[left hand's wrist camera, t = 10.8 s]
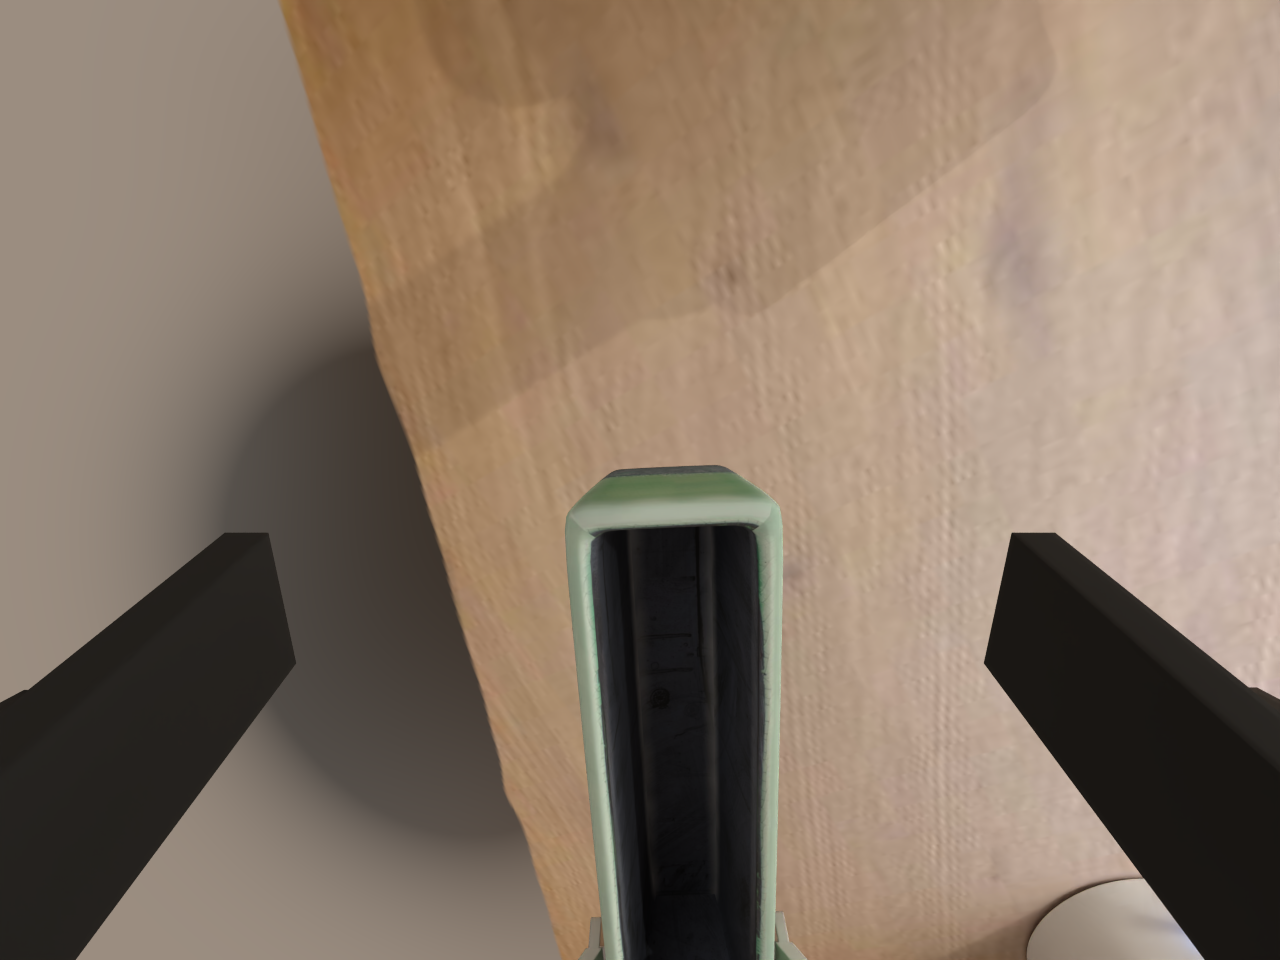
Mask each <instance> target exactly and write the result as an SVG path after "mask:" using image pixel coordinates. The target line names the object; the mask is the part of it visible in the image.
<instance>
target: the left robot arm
mask: <svg viewBox="0 0 1280 960" xmlns="http://www.w3.org/2000/svg"><path fill="white" fill-rule="evenodd" d="M295 664H296V660H295V656H294V651H293V646H292V642H291V637H290V632H289V628H288V623H287V618H286V614H285V609H284V604H283V600H282V595H281V590H280V586H279V581H278V576H277V571H276V567H275V562H274V557H273V553H272V548H271V543H270V539H269V534H268V533H224V534H223V535H222V536H220V537H219V538H218V539H217V540H215V541H214V542H213V543H212V544H210V545H209V546H208V547H207V548H205V549H204V550H203V551H202V552H200V553H199V554H198V555H197V556H195V557H194V558H193V559H192V560H190V561H189V562H188V563H187V564H185V565H184V566H183V567H182V568H180V569H179V570H178V571H177V572H175V573H174V574H173V575H172V576H170V577H169V578H168V579H167V580H165V581H164V582H163V583H162V584H160V585H159V586H158V587H157V588H155V589H154V590H153V591H152V592H150V593H149V594H148V595H147V596H145V597H144V598H143V599H142V600H140V601H139V602H138V603H137V604H135V605H134V606H133V607H132V608H130V609H129V610H128V611H127V612H125V613H124V614H123V615H122V616H120V617H119V618H118V619H117V620H115V621H114V622H113V623H112V624H110V625H109V626H108V627H107V628H105V629H104V630H103V631H102V632H100V633H99V634H98V635H96V636H95V637H94V638H93V639H91V640H90V641H89V642H88V643H87V644H85V645H84V646H83V647H81V648H80V649H79V650H78V651H76V652H75V653H74V654H73V655H71V656H70V657H69V658H68V659H67V660H65V661H64V662H63V663H62V664H60V665H59V666H58V667H56V668H55V669H54V670H53V671H52V672H50V673H49V674H48V675H47V676H45V677H44V678H43V679H41V680H40V681H39V682H38V683H37V684H35V685H34V686H33V687H32V688H30V689H29V690H23V691H21V692H19V693H18V694H16V695H14V696H12V697H10V698H8V699H6V700H4V701H2V702H1V703H0V960H76V959H77V957H78V956H79V954H80V953H81V952H82V950H83V949H84V948H85V946H86V945H87V944H88V942H89V941H90V940H91V938H92V937H93V936H94V934H95V933H96V932H97V930H98V929H99V928H100V926H101V925H102V924H103V922H104V921H105V919H106V918H107V917H108V915H109V914H110V913H111V911H112V910H113V909H114V907H115V906H116V905H117V903H118V902H119V901H120V899H121V898H122V897H123V895H124V894H125V893H126V891H127V890H128V889H129V887H130V886H131V885H132V883H133V882H134V881H135V879H136V878H137V877H138V875H139V874H140V872H141V871H142V870H143V868H144V867H145V866H146V864H147V863H148V862H149V860H150V859H151V858H152V856H153V855H154V854H155V852H156V851H157V850H158V848H159V847H160V846H161V844H162V843H163V842H164V840H165V839H166V838H167V836H168V835H169V833H170V832H171V831H172V829H173V828H174V827H175V825H176V824H177V823H178V821H179V820H180V819H181V817H182V816H183V815H184V813H185V812H186V811H187V809H188V808H189V807H190V805H191V804H192V803H193V801H194V800H195V799H196V797H197V796H198V794H199V793H200V792H201V790H202V789H203V788H204V786H205V785H206V784H207V782H208V781H209V780H210V778H211V777H212V776H213V774H214V773H215V772H216V770H217V769H218V768H219V766H220V765H221V764H222V762H223V761H224V760H225V758H226V757H227V755H228V754H229V753H230V751H231V750H232V749H233V747H234V746H235V745H236V743H237V742H238V741H239V739H240V738H241V737H242V735H243V734H244V733H245V731H246V730H247V729H248V727H249V726H250V724H251V723H252V722H253V721H254V719H255V718H256V716H257V715H258V714H259V712H260V711H261V710H262V708H263V707H264V706H265V704H266V703H267V702H268V700H269V699H270V698H271V696H272V695H273V694H274V692H275V691H276V690H277V688H278V687H279V686H280V684H281V683H282V682H283V680H284V679H285V678H286V676H287V675H288V673H289V672H290V671H291V669H292V668H293V667H294V665H295ZM984 664H985V665H986V667H987V668H988V669H989V671H990V672H991V673H992V675H993V676H994V678H995V679H996V680H997V682H998V683H999V684H1000V686H1001V687H1002V688H1003V690H1004V691H1005V692H1006V694H1007V695H1008V696H1009V698H1010V699H1011V700H1012V702H1013V703H1014V704H1015V706H1016V707H1017V708H1018V710H1019V711H1020V712H1021V714H1022V715H1023V717H1024V718H1025V719H1026V721H1027V722H1028V723H1029V725H1030V726H1031V727H1032V729H1033V730H1034V731H1035V733H1036V734H1037V735H1038V737H1039V738H1040V739H1041V741H1042V742H1043V743H1044V745H1045V746H1046V747H1047V749H1048V750H1049V751H1050V753H1051V754H1052V755H1053V757H1054V758H1055V760H1056V761H1057V762H1058V764H1059V765H1060V766H1061V768H1062V769H1063V770H1064V772H1065V773H1066V774H1067V776H1068V777H1069V778H1070V780H1071V781H1072V782H1073V784H1074V785H1075V786H1076V788H1077V789H1078V790H1079V792H1080V793H1081V794H1082V796H1083V797H1084V799H1085V800H1086V801H1087V803H1088V804H1089V805H1090V807H1091V808H1092V809H1093V811H1094V812H1095V813H1096V815H1097V816H1098V817H1099V819H1100V820H1101V821H1102V823H1103V824H1104V825H1105V827H1106V828H1107V829H1108V831H1109V832H1110V833H1111V835H1112V836H1113V838H1114V839H1115V840H1116V842H1117V843H1118V844H1119V846H1120V847H1121V848H1122V850H1123V851H1124V852H1125V854H1126V855H1127V856H1128V858H1129V859H1130V860H1131V862H1132V863H1133V864H1134V866H1135V867H1136V868H1137V870H1138V871H1139V872H1140V874H1141V875H1142V877H1143V878H1144V879H1145V881H1146V882H1147V883H1148V885H1149V886H1150V887H1151V889H1152V890H1153V891H1154V893H1155V894H1156V895H1157V897H1158V898H1159V899H1160V901H1161V902H1162V903H1163V905H1164V906H1165V907H1166V909H1167V910H1168V911H1169V913H1170V914H1171V916H1172V917H1173V918H1174V920H1175V921H1176V922H1177V924H1178V925H1179V926H1180V928H1181V929H1182V930H1183V932H1184V933H1185V934H1186V936H1187V937H1188V938H1189V940H1190V941H1191V942H1192V944H1193V945H1194V946H1195V948H1196V949H1197V950H1198V952H1199V953H1200V955H1201V956H1202V957H1203V959H1204V960H1280V699H1278V698H1276V697H1274V696H1272V695H1270V694H1268V693H1266V692H1264V691H1263V690H1261V689H1259V688H1249V687H1247V686H1246V685H1245V684H1244V683H1242V682H1241V681H1240V680H1239V679H1237V678H1236V677H1235V676H1234V675H1232V674H1231V673H1230V672H1229V671H1227V670H1226V669H1225V668H1224V667H1222V666H1221V665H1220V664H1219V663H1217V662H1216V661H1215V660H1214V659H1212V658H1211V657H1210V656H1209V655H1207V654H1206V653H1205V652H1204V651H1202V650H1201V649H1200V648H1199V647H1197V646H1196V645H1195V644H1194V643H1192V642H1191V641H1190V640H1189V639H1187V638H1186V637H1185V636H1184V635H1182V634H1181V633H1180V632H1179V631H1177V630H1176V629H1175V628H1174V627H1172V626H1171V625H1170V624H1168V623H1167V622H1166V621H1165V620H1163V619H1162V618H1161V617H1160V616H1158V615H1157V614H1156V613H1155V612H1153V611H1152V610H1151V609H1150V608H1148V607H1147V606H1146V605H1145V604H1143V603H1142V602H1141V601H1140V600H1138V599H1137V598H1136V597H1135V596H1133V595H1132V594H1131V593H1130V592H1128V591H1127V590H1126V589H1125V588H1123V587H1122V586H1121V585H1120V584H1118V583H1117V582H1116V581H1115V580H1113V579H1112V578H1111V577H1110V576H1108V575H1107V574H1106V573H1105V572H1103V571H1102V570H1101V569H1100V568H1098V567H1097V566H1096V565H1095V564H1093V563H1092V562H1091V561H1090V560H1088V559H1087V558H1086V557H1085V556H1083V555H1082V554H1081V553H1080V552H1078V551H1077V550H1076V549H1075V548H1073V547H1072V546H1071V545H1070V544H1068V543H1067V542H1066V541H1065V540H1063V539H1062V538H1061V537H1060V536H1058V535H1057V534H1056V533H1012V534H1011V539H1010V543H1009V548H1008V553H1007V557H1006V562H1005V567H1004V571H1003V576H1002V581H1001V585H1000V590H999V595H998V600H997V604H996V609H995V614H994V618H993V623H992V628H991V632H990V637H989V642H988V646H987V651H986V656H985V660H984Z"/></svg>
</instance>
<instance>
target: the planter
mask: <svg viewBox="0 0 1280 960" xmlns="http://www.w3.org/2000/svg"><path fill="white" fill-rule="evenodd" d="M565 541H566V558H567V573H568V583H569V594H570V605H571V616H572V627H573V638H574V648H575V658H576V668H577V679H578V689H579V699H580V709H581V720H582V730H583V740H584V750H585V760H586V770H587V780H588V790H589V800H590V810H591V820H592V830H593V840H594V850H595V860H596V869H597V879H598V889H599V899H600V909H601V918H602V928H603V938H604V947H605V957H606V960H774V941H775V904H776V864H777V825H778V782H779V739H780V693H781V645H782V586H783V534H782V518H781V512H780V507H779V505H778V504H777V503H776V502H775V501H774V500H773V499H772V498H771V497H770V496H769V495H768V494H766V493H765V492H764V491H762V490H761V489H760V488H758V487H757V486H755V485H754V484H752V483H751V482H749V481H748V480H746V479H744V478H743V477H741V476H740V475H738V474H736V473H735V472H733V471H731V470H730V469H728V468H726V467H723V466H718V465H705V466H678V467H656V468H637V469H621V470H616V471H613V472H611V473H610V474H608V475H607V476H606V477H604V478H603V479H602V480H601V481H600V482H598V483H597V484H596V485H595V486H594V487H593V488H591V489H590V490H589V491H588V492H587V493H586V494H585V495H584V496H583V497H582V498H581V499H580V500H579V501H578V502H577V503H576V504H575V505H574V506H573V507H572V509H571V510H570V511H569V512H568V514H567V517H566V526H565Z"/></svg>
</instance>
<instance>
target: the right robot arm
mask: <svg viewBox="0 0 1280 960" xmlns="http://www.w3.org/2000/svg"><path fill="white" fill-rule="evenodd" d="M578 960H606V957H605V947H604V938H603V928H602V918H601V917H591V922H590V936H589V948H586V949H585V950H584V952H583V953H582V955H581V956H580V957H579V959H578ZM774 960H807V958H806V957H805V956H804V955H803V954H802V953H801V952H800V950H799V949H798V948H797V947H796V946H795V945H794V943H793V942H789V938H788V933H787V928H786V923H785V918H784V913H783V911H775V941H774ZM1027 960H1204V959H1203V957H1202V956H1201V955H1200V953H1199V952H1198V950H1197V949H1196V948H1195V946H1194V945H1193V944H1192V942H1191V941H1190V940H1189V938H1188V937H1187V936H1186V934H1185V933H1184V932H1183V930H1182V929H1181V928H1180V926H1179V925H1178V924H1177V922H1176V921H1175V920H1174V918H1173V917H1172V916H1171V914H1170V913H1169V911H1168V910H1167V909H1166V907H1165V906H1164V905H1163V903H1162V902H1161V901H1160V899H1159V898H1158V897H1157V895H1156V894H1155V893H1154V891H1153V890H1152V889H1151V887H1150V886H1149V885H1148V883H1147V882H1146V881H1145V879H1144V878H1143V879H1127V880H1119V881H1114V882H1109V883H1105V884H1101V885H1098V886H1095V887H1092V888H1089V889H1087V890H1084V891H1082V892H1080V893H1078V894H1076V895H1074V896H1072V897H1070V898H1068V899H1067V900H1065V901H1064V902H1062V903H1061V904H1059V905H1058V906H1056V907H1055V908H1054V909H1053V910H1052V911H1050V912H1049V913H1048V914H1047V915H1046V916H1045V917H1044V918H1043V919H1042V920H1041V922H1040V923H1039V924H1038V925H1037V927H1036V928H1035V930H1034V932H1033V933H1032V935H1031V937H1030V940H1029V943H1028V947H1027Z"/></svg>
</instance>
